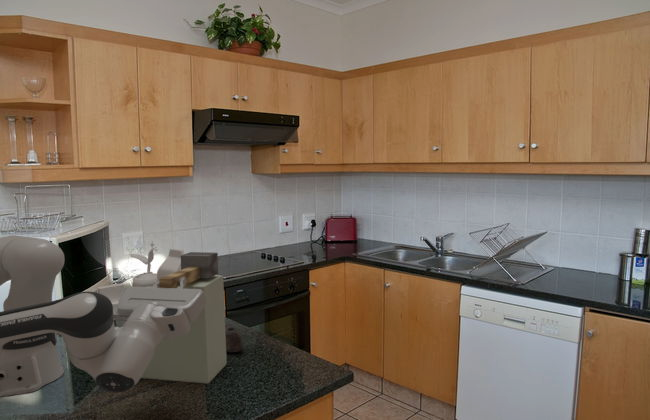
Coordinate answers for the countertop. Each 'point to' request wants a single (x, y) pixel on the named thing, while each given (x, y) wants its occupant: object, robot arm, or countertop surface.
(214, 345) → the block
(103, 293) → the cylinder with rectangular tab
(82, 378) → the countertop surface
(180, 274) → the mallet
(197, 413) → the countertop surface
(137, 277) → the potted plant
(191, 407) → the countertop surface
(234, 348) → the perforated stone tool
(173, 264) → the milk
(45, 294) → the robot arm
